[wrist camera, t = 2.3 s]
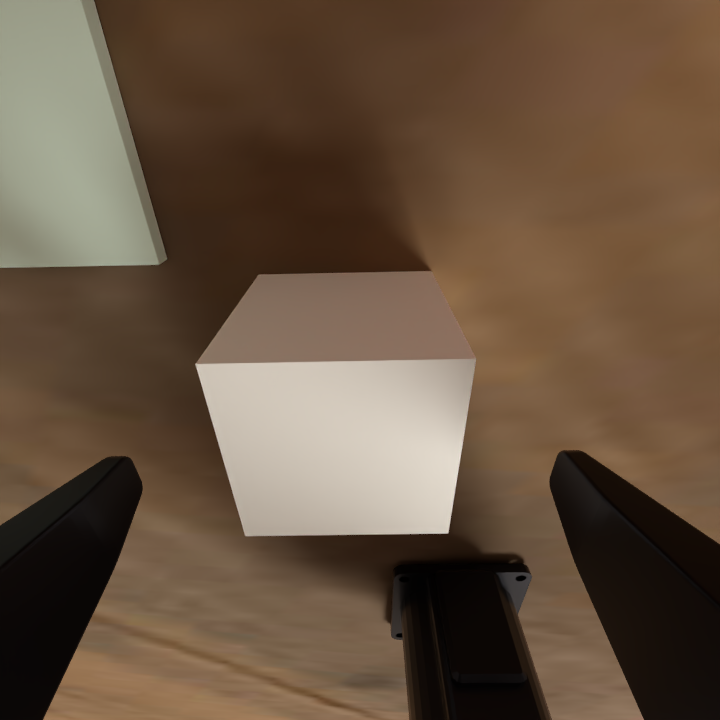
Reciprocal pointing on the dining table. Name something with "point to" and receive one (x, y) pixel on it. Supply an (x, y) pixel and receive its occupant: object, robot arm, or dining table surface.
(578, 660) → the dining table surface
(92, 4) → the pad
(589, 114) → the dining table surface
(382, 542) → the dining table surface
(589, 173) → the dining table surface
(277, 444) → the cube
